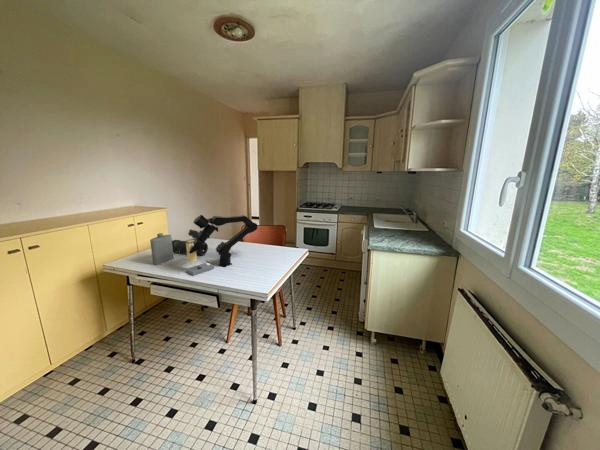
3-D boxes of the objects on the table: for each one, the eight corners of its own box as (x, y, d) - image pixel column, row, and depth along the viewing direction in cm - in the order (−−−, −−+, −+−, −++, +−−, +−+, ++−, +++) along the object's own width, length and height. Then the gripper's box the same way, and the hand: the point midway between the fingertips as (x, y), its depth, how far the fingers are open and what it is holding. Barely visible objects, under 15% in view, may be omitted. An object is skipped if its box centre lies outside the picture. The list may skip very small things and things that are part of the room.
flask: (168, 257, 168) (166, 230, 164) (175, 258, 167) (172, 231, 163) (150, 264, 154) (146, 235, 150) (157, 265, 153) (153, 236, 149)
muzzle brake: (201, 257, 169) (200, 244, 167) (168, 254, 175) (166, 241, 173) (208, 253, 178) (207, 240, 176) (177, 250, 184) (175, 238, 182)
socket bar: (207, 265, 154) (206, 261, 154) (214, 268, 150) (213, 264, 149) (186, 272, 143) (186, 267, 143) (193, 275, 139) (192, 271, 138)
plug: (194, 259, 147) (192, 238, 144) (197, 261, 145) (195, 240, 142) (187, 261, 144) (185, 240, 141) (190, 263, 142) (188, 241, 139)
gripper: (194, 222, 149) (176, 240, 146) (198, 227, 134) (178, 248, 130) (207, 232, 155) (191, 250, 152) (213, 239, 139) (195, 259, 136)
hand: (189, 251), depth 142 cm, fingers closed on plug, 5 cm apart
